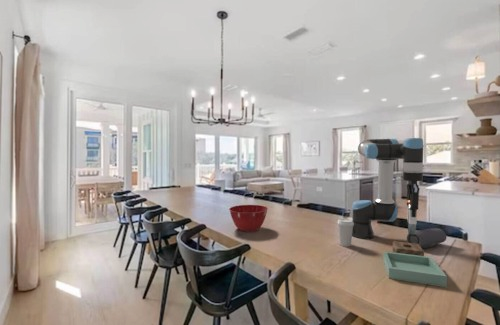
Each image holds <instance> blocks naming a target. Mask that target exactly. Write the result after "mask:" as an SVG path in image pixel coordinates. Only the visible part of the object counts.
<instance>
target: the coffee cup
mask: <svg viewBox="0 0 500 325" xmlns="http://www.w3.org/2000/svg"><path fill="white" fill-rule="evenodd" d="M353 225H354V223H353V221H352V219H350V218H339V219H338V220H337V230H338V241H339V245H340V246H342V247H347V248H349V247H352V240H353V238H352V237H353V236H352V230H353Z"/></svg>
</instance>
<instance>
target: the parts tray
mask: <svg viewBox="0 0 500 325" xmlns="http://www.w3.org/2000/svg"><path fill="white" fill-rule="evenodd" d="M382 261H383V265H384V268H385V270H386V274H387V277H388V279H391V280H399V281H406V282H411V283H417V284H424V285H425V284H426V285H429V286H436V287H444V288H447V287H448V286H447V284H448V276H447V275H446V273H445V272H444V271H443V270H442V268H441V267H440V266H439V265H438V263H437V262H436V261H435V259H434V258H433V257H432V256H425V255H424V256H418V255H410V254H401V253H393V251H392V252H391V251H384V250H383V251H382Z"/></svg>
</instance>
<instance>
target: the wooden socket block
mask: <svg viewBox="0 0 500 325" xmlns="http://www.w3.org/2000/svg"><path fill="white" fill-rule="evenodd" d="M392 252H393V253H401V254H410V255H418V256H425V250H423V248H421V247H420V246H419V244H415V243H408V242H406V241H405V242H404V241H403V242H402V241H398V240H397V241H395V240H392Z"/></svg>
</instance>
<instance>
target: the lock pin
mask: <svg viewBox="0 0 500 325" xmlns="http://www.w3.org/2000/svg"><path fill="white" fill-rule="evenodd" d="M407 203H409V207H408V206H407V226H408V227H407V235H408V234H412V235H415V234H416V231H417V224H409V211H410V210H409V209H408V208H410V200H407V199H406V204H407Z"/></svg>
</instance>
